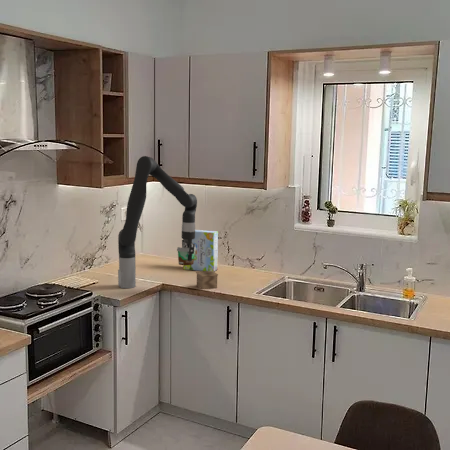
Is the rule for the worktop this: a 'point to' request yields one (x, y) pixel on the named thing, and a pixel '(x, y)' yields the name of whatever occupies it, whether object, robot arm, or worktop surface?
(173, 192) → the robot arm
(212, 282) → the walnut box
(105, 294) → the worktop surface
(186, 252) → the food container
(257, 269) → the worktop surface
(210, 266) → the snack box
